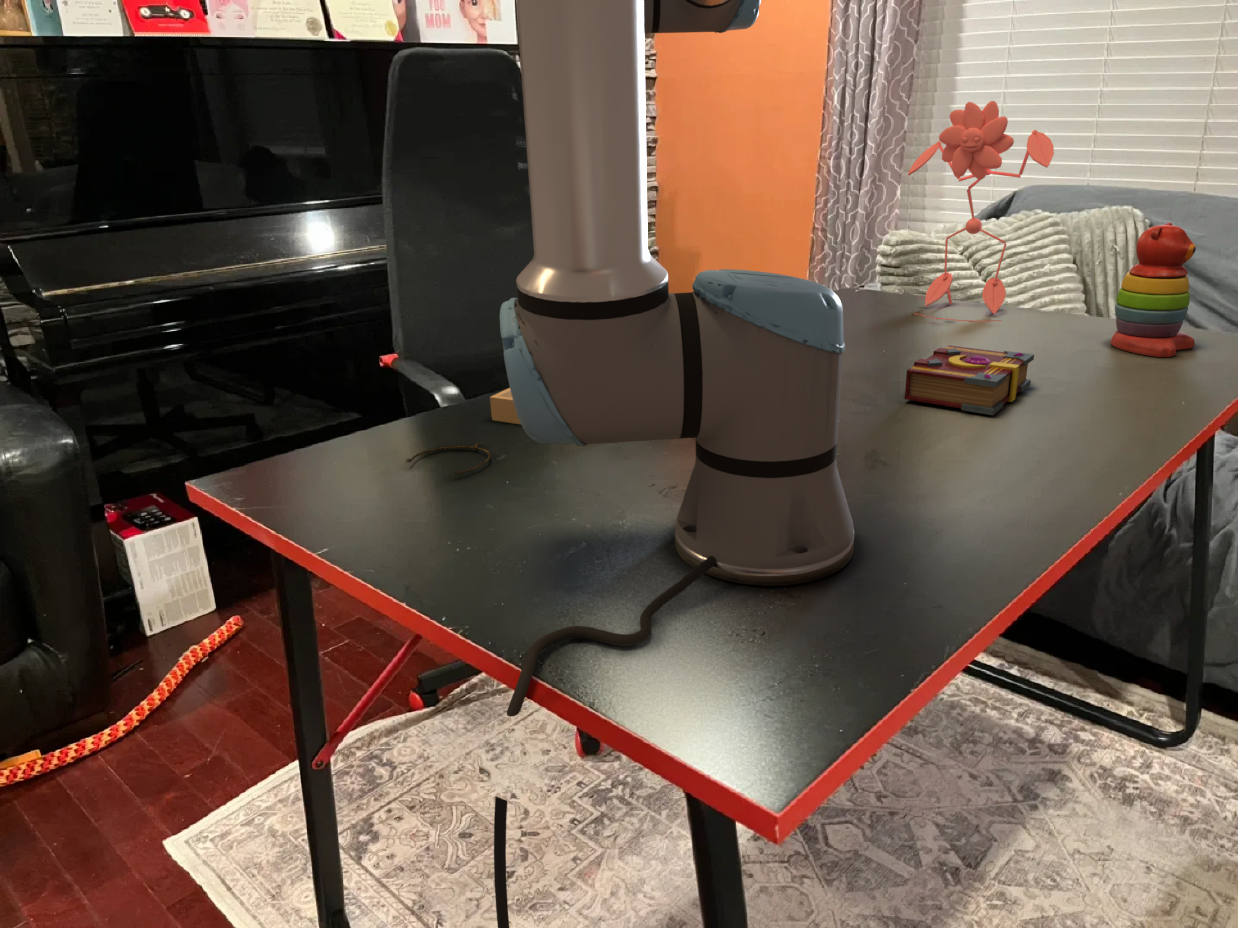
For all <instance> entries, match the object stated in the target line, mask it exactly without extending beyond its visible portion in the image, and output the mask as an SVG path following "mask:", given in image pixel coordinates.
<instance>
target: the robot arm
mask: <svg viewBox="0 0 1238 928" xmlns="http://www.w3.org/2000/svg"><path fill="white" fill-rule="evenodd" d="M761 2H762V0H515V5H516V19H517V32H518V33H517V34H518V46H519V47H518V49H519V59H520V60H519V61H520V72H521V73H520V75H521V88H522V89H521V90H522V102H523V103H522V104H523V114H524V115H523V118H524V130H525V145H526V159H527V173H528V186H529V187H528V188H529V189H528V190H529V202H530V214H531V215H530V216H531V228H532V229H531V230H532V241H533V242H532V244H533V257H532V259H531V260H530V261H529V262H528V264H526V266H525V267H524V268H523V269H522V270H521V272H520V273H519V274H517V276H516V279H515V281H516V282H515V284H516V294H517V295H516V296H517V297H511V298H509V300H506V301H504V302H502V304H501V305H500V310H499V330H500V331H499V332H500V337H501V343H502V348H503V359H504V365H505V370H506V377H507V381H508V386H509V388H510V390H511V394H512V398H513V402H514V406H515V409H516V412H517V415H518V418H519V421H520V423H521V428H522V429H523V431H524V432H525V434H526V435H527V437H529V438H530V439H531V440H532V441H534V442H537V443H538V444H542V445H543V444H544V445H576V446H578V447H587V445H594V444H597V445H598V444H611V443H627V442H628V443H629V442H644V441H646V442H647V441H663V440H678V439H679V440H681V439H695V462H694V465H693V469H692V471H691V475H690V477H689V480H688V483H687V485H686V489H685V492H684V495H683V498H682V500H681V504H680V506H679V510H678V513H677V516H676V520H675V525H674V542H675V543H674V545H675V550H676V552H677V554H678V556H679V557H680V558H681V559H682V561H684V562H685V563H686V564H687V565H689V566H690V567H692V568H693V569H691V571H690V572H688V573H687V574H685V575H684V576H683V577H681V579H679V580H678V581H676V582H675V584H673V585H672V586H670V587H669V588H667V589H666V590H665V591H664V592H662V593H661V594H660V595H658V596H657V597H656V598H654V599H653V600H652V601H651V602H650V603H649V604H648V605H647V606H646V607H645V608H644V609H643V611H642V612H641V614H640V617H639V625H640V630H638V631H636V632H633V633H628V634H626V633H615V632H611V631H607V630H603V629H599V628H595V627H590V626H583V625H572V626H567V627H563V628H560V629H557V630H554V631H552V632H549V633H547V634H545V635H543V636H541V637H540V638H538V639H537V640H536V641H535V642H534V643H533V644H532V645H531V646H530V647H529V649H528V650H527V653H526V655H525V658H524V660H523V663H522V667H521V670H520V672H519V673H520V674H519V676H518V678H517V679H518V680H517V682H516V686H515V689H514V691H513V693H512V696H511V699H510V702H509V704H508V707H507V710H506V716H507V717H510V718H511V717H516V716H517V715H519V714H520V712H521V710H522V707H523V705H524V701H525V700H526V695H527V693H528V691H529V688H530V685H531V682H532V679H533V675H534V672H535V668H536V664H537V662H538V660H539V657H540V655H541V653H542V652H543V651H544V650H545V649H547V648H549V647H550V646H552V645H555V644H557V643H560V642H562V641H565V640H568V639H572V638H582V639H583V638H584V639H590V640H593V641H597V642H602V643H605V644H610V645H614V646H622V647H624V646H625V647H628V646H635V645H639V644H642V643H644V642H646V640H648V639H649V638H650V636H651V634H652V623H651V621H652V618H653V617H654V615H655V614H656V613H657V612H658V611H659V610H661V608H663V607H664V606H665V605H666V604H668V603H669V602H670V601H672V600H673V599H675V598H676V597H677V596H679V595H680V594H681V593H682V592H683V591H685V590H686V589H688V588H689V587H690V586H691V585H692V584H693V583H695V582H696V581H697V580H698V579H699V578H701V577H702V576H703V575H704V574H705V575H708V576H710V577H713V578H716V579H719V580H721V581H727V582H731V583H737V584H742V585H749V586H750V585H751V586H765V587H768V586H769V587H771V586H772V587H773V586H774V587H777V586H780V587H781V586H790V585H799V584H805V583H810V582H813V581H818V580H820V579H823V578H826V577H828V576H831V575H833V574H835V573H837V572H838V571H839V572H840V571H841V570H842V569H844V567H846V565H847V564H848V563H849V562H850V561H851V559H852V557H853V555H854V549H855V529H854V521H853V519H852V515H851V511H850V508H849V504H848V501H847V498H846V494H845V491H844V488H843V484H842V481H841V477H840V474H839V469H838V467H837V452H838V436H839V435H838V434H839V420H840V419H839V417H840V402H841V398H840V397H841V385H842V365H843V354H844V353H845V351H846V344H845V341H844V340H845V339H844V338H845V337H844V311H843V310H844V309H843V303H842V302H841V299H840V296H838V295H837V294H836V293H835V292H834V291H833V290H832V289H831V288H830V287H828V286H825V285H824V284H821V283H818V282H816V281H813V280H810V279H805V278H801V277H797V276H793V275H792V276H791V275H788V274H781V273H776V272H775V273H774V272H767V271H760V270H759V271H758V270H747V269H732V268H731V269H730V268H723V269H718V270H717V269H707V270H702V271H700V272H698V273H697V274H696V275H695V279H694V281H693V283H692V290H693V291H689V292H670V291H669V272H668V271H667V269H666V268H665V267H664V266H663V265H662V264H661V263H660V262H659V261H657V259H656V258H654V257H653V256H652V255H651V252H650V251H649V241H648V240H649V239H648V235H649V234H648V180H647V179H648V178H647V177H648V176H647V175H648V174H647V173H648V169H647V167H648V166H647V115H646V114H647V113H646V109H647V107H646V52H645V51H646V50H645V46H646V45H645V44H646V43H645V35H648V34H680V33H681V34H683V33H685V34H686V33H715V34H716V33H718V34H723V33H726V32H728V31H729V32H730V31H738V30H739V31H740V30H747V29H749V28H751V27H752V26H754V25H755V23H756V22H757V19H758V16H759V14H760V5H761ZM494 797H495V798H494V813H493V814H494V816H493V876H494V877H493V878H494V879H493V880H494V895H495V896H494V897H495V912H496V921H497V924H496V925H497V928H510V918H509V917H510V916H509V904H508V886H507V818H508V817H507V815H508V800H507V799H505V798H504V799H503V798H502V797H500V796H499V797H498V796H494Z"/></svg>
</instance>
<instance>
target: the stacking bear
mask: <svg viewBox="0 0 1238 928" xmlns="http://www.w3.org/2000/svg"><path fill="white" fill-rule="evenodd" d="M1196 250H1197V247H1196V245H1195V244H1194V242H1193V241H1192V240H1191V238H1190V237H1189V236H1188V234H1187V232H1186V231H1185V230H1184V229H1183V228H1182V227H1181V226H1178V225H1173V223H1172V222H1167V223H1164V224H1160V225H1154V226H1151V227H1149V228H1147V229H1146V230H1144V231H1143V232H1142V233H1141V235H1139V237H1138V239H1137V242H1136V257H1137V260H1138V263H1136V264H1135V265H1133V266H1132V267H1131V268H1130V270H1129V271H1128V272H1126V274H1125V275H1124V277H1123V280H1122V282H1121V285H1120V288H1119V289H1118V292H1117V296H1116V299H1115V306H1114V313H1115V325H1116V331H1115V332H1114V333H1113V335H1112V337H1111V338H1110V344H1111V345H1112V346H1113V347H1114V348H1117V349H1119V350H1122V351H1126V352H1130V353H1132V354H1133V353H1134V354H1138V355H1143V356H1149V357H1155V358H1156V357H1157V358H1170V357H1174V356H1176V354H1177V351H1181V350H1189V349H1192V348H1194V347H1195V338H1194V337H1192V336H1191V335H1189V334H1187V333H1185V332H1182V331H1180V330H1181V329H1182V325H1183V323H1184V320H1185V319H1186V316H1187V313H1188V310H1189V305H1190V300H1191V293H1190V281H1189V277H1188V274H1189V271H1188V270H1187V268H1186V267H1185V266H1183V265H1184V264H1186V263H1187V262H1188V261H1189V260H1191V259H1192V257H1193V256H1194V254H1195V252H1196Z"/></svg>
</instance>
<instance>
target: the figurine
mask: <svg viewBox="0 0 1238 928" xmlns="http://www.w3.org/2000/svg"><path fill="white" fill-rule="evenodd" d="M949 120H950V123H951V126H949V127H946V128H945V129H943V131H941V132H940V134H939V136H938V141H937V142H936V143H934V144H932V145H931V146H929V147H928V148H926V150H924V151H923V152H922V153H921V154H920V155H919V156H918V157H917V159H916V160H915V161H914V162H913V163H912V165H911V167H910V168H909V171H908V173H907V175H908V176H911V175H912V174H914V173H915V172H917V171H918V170H920V169H921V168H923V166H924V165H926V164H927V163H928V162H929V161H930V160H931V159H932V158H933V156H935V154H936V153H937V151H938V150H940V152H941V160H942V162H944V163H947V164H948V166H949V167H950V169H951V171H952V173H953V175H954V177H955V178H956V179H957V180H958V182H963V181H967V180H970V179H972V178H975V179H976V180H975V181H974V182H972V183H971V184H970V185H969V186H968V187H967V189H966V193H967V198H968V199H967V200H968V204H969V209H970V214H971V218H970V219H968V220H967V222H966V223H965V227H964V228H961V229H959V230H957V231H956V232H954V233H952V234H950V235H948V236H946V237H945V245H944V246H945V247H944V248H945V249H944V272H943V273H941V274H940V275H939V276H938V277H936V278H935V279H934V280H933V281H932V282H931V284H930V285H929V287H928V289H927V291H926V294H925V296H924V297H919V298H917V300H922V299H925V300H924V306H925V307H927V306H931V305H932V304H934V303H935V302H937V301H939V300H941V298H943V297H944V296H945V295H946V294H947V300H948V304H949V305H952V304H953V299H952V294H951V286H952V283H953V280H954V277H953V274H952V273H951V272H949V271H948V269H947V268H948V267H947V266H948V244H949V243H948V242H949V239H951V238H953V237H954V236H956V235H959V234H961V233H962V232H964V231H966V232H967V234H970V235H976V234H978V233H980V232H981V233H983V234H985V235H987V236H989V237H991V238H993V239H995V240H997V241H999V242H1001V243H1003V247H1002V251H1001V255H1000V258H999V261H998V265H997V269H996V272H995V276H994V277H991V278H990V279H987V281H985V282H986V283H985V285H984V287H983V288H982V296H981V297H982V299H983V303H984V304H985V306H986V307H987V309H988V310H989V311H990V312H991V313H992V314H993V315H995V314H996V313H997V312H998V311H999V310H1000V308H1001V307H1002V305H1003V304H1004V301H1005V299H1006V295H1007V293H1006V291H1007V290H1006V287H1005V285H1004V283H1003V281H1002V280H1001V279H999V278H998V277H999V273H1000V269H1001V265H1002V261H1003V258H1004V256H1005V255H1004V254H1005V251H1006V248H1007V241H1005V240H1003V239H1001V238H1000V237H998V236H995V235H993V234H992V233H990V232H988V231H986V230H984V229H983V223H982V221H981V219H979V218H978V217H977V218H976V217H975V211H974V205H973V199H972V197H973V196H972V191H971V189H972V188H973V187H975V186H976V185H978V183H980V182H981V181H982V180H984V178H986V176H990V175H995V176H1003V177H1010V178H1017V179H1018V178H1019V179H1021V176H1022V175H1023V173H1024V171H1025V168H1026V164H1027V161H1028V159H1029V157H1030V158H1031V159H1032V160H1033V161H1034V162H1035V163H1037V164H1039V165H1040V166H1043V167H1044V168H1048V167H1049V166H1050V164H1051V162H1052V161H1053V157H1054V154H1055V149H1054V143H1053V142H1052V140H1051V138H1050V137H1049V136H1048V135H1047V134H1045V133H1044V132H1040V131H1038V130H1037V129H1034V130H1032V131H1031V134H1030V135H1029V136H1028V137H1027V141H1026V152H1025V155H1024V157H1023V161H1022V163H1021V167H1020V169H1019V172H1018V173H1014V172H1013V173H1012V172H1005V171H997V170H998V169H999V168H1002V167H1001V166H1002V164H1003V158H1002V156H1000V155H1001V154H1003V153H1004V152H1007V151H1008V150H1010V149H1011V148H1012V147H1013V145H1014V143H1015V140H1014V138H1013V137H1012V136H1010V135H1009V134H1006V133H1005V132H1006V130H1007V127H1008V123H1009V121H1008V118H1007V117H1006V116H1005V115H1004V116H1000V109H999V105H998V103H997V102H996V101H995V100H990V101H988V102H987V103H986V104H985V106H984V107H983V109H981V108H980V107H979V105H978V104H976V103H975V102H973V101H968V102H966V103H965V105H964V109H954V110H952V111H951V112H950V114H949ZM942 144H944V145H945V146H944V147H943V145H942ZM996 169H997V170H996ZM967 171H968V172H969V173H971V174H969V175H966V176H965V174H966V173H967ZM947 271H948V272H947ZM913 314H914V315H918V316H921V317H926V318H931V319H935V320H946V321H957V322H968V323H977V322H980V323H981V322H983V323H984V322H987V323H989V322H992V320H967V319H953V318H944V317H943V318H942V317H935V316H930V315H924V314H919V313H916V312H913ZM993 322H1002V319H998V320H997V319H995V320H993Z"/></svg>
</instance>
